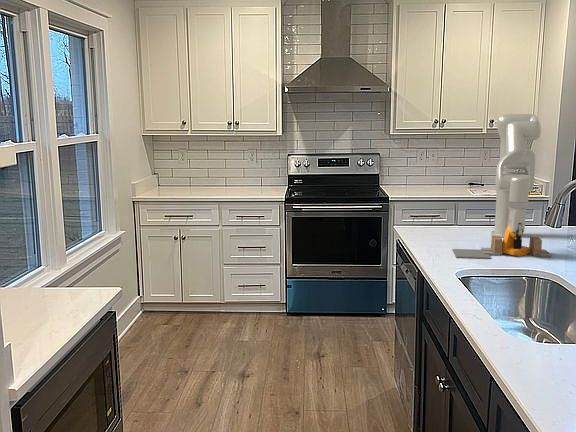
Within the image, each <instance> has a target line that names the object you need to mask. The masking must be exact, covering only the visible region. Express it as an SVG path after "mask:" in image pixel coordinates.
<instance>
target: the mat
mask: <svg viewBox="0 0 576 432" xmlns="http://www.w3.org/2000/svg"><path fill="white" fill-rule="evenodd" d="M452 252H453V254H454V256H455V258H456V259H478V260H480V259H482V260H491V259H492V256H489V254H484V252H483V251H482V250H481V249H474V248H473V249H472V248H471V249H469V248H452Z"/></svg>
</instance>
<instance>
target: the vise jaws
mask: <svg viewBox="0 0 576 432" xmlns="http://www.w3.org/2000/svg"><path fill="white" fill-rule="evenodd" d="M490 237H491V239H490V247H480V250H482V251H483V252H484V254H489V256H490V257H492V256H495V257H497V256H498V257H500V256H502V253H503V252H502V241H503V237H500V236H499V235H492V234H491V236H490ZM542 246H543V240H542V239H541V238H540V237H539V236H538V235H537V236H536V235H530V236H529V246H528V247H530V248H531V249H530V254H531V255H532V256H533V257H536V258H552V257H553V255H552V253H550V251H548V250H547V249H544V248H542Z"/></svg>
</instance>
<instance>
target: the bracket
mask: <svg viewBox="0 0 576 432" xmlns="http://www.w3.org/2000/svg"><path fill="white" fill-rule="evenodd" d="M516 232H518V231H516ZM523 235H524V232H523V233H522V237H523ZM516 236H517V234H516ZM514 239H515V232H514V233H512V232H511V231H510V227H509V226H508V227H507V229H506V232H505V235H504V237H502V253H504V254H507V255H511V256H515V257H522V256H528V254H529V253H530V249H531V248H530V247H529V246H525V245H522V246H521V249H514V248H513V243H514ZM530 254H531V253H530Z"/></svg>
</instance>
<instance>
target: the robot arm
mask: <svg viewBox="0 0 576 432" xmlns="http://www.w3.org/2000/svg"><path fill="white" fill-rule="evenodd" d="M496 128H497V132H498V135H499V138H500V149H499V154H500V155H499V161H498V163H497V165H496V168H495V181H494V182H495V191H496V192H495V193H496V194H495V195H496V196H495V217H494V222H495V223H494V230H493V231H491V233H490V234H491V235H499V236H500V237H501V238H504V235H505V232H506V229H507V227H508V226H509V227H510V231H511V232H512V233H514V232H515V239H514V243H513V248H514V249H521V246H523V245H522V244H523V243H522V242H523V236H522V233H523V234H524V232H525V229H526V228H525V227H526V211H527V210H528V209H529V208H528V207H529V195H530V194H529V193H530V191H533V189H534V184H535V173H536V155H535V152H534V151H533V150H532V149H528V148H527V141H536V140H538V139H540V136H541V132H542V130H541V123H540V121H539V119H538V116H537V115H536V114H533V113H506V114H501V115H499V116H498V117H497V119H496ZM503 169H504V170H523V171H504V170H503ZM516 231H518V232H516ZM516 234H517V236H516Z"/></svg>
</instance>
